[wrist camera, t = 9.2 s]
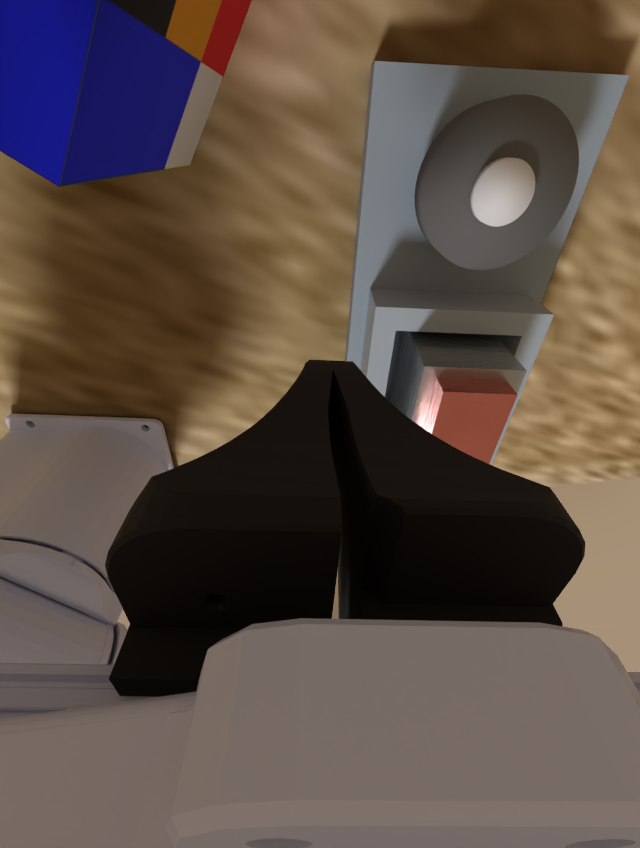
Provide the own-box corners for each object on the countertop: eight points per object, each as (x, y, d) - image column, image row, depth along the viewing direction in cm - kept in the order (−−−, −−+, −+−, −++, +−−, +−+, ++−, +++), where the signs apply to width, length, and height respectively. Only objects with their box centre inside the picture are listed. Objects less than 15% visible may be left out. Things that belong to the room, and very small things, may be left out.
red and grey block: (387, 403, 22) (405, 478, 17) (402, 318, 19) (430, 379, 14) (457, 406, 22) (495, 481, 17) (483, 321, 19) (538, 383, 14)
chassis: (338, 429, 24) (341, 469, 21) (371, 66, 14) (384, 46, 11) (478, 434, 24) (500, 475, 21) (608, 79, 14) (683, 63, 11)
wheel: (403, 256, 16) (413, 270, 14) (430, 95, 13) (446, 87, 11) (525, 262, 16) (549, 276, 15) (580, 103, 13) (618, 97, 11)
